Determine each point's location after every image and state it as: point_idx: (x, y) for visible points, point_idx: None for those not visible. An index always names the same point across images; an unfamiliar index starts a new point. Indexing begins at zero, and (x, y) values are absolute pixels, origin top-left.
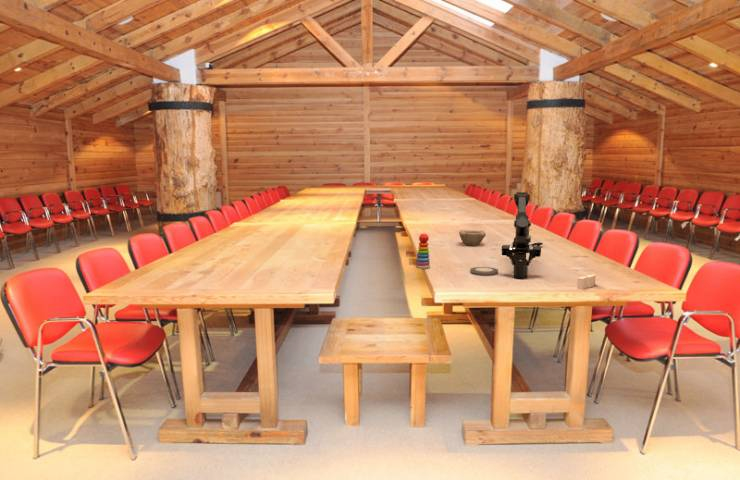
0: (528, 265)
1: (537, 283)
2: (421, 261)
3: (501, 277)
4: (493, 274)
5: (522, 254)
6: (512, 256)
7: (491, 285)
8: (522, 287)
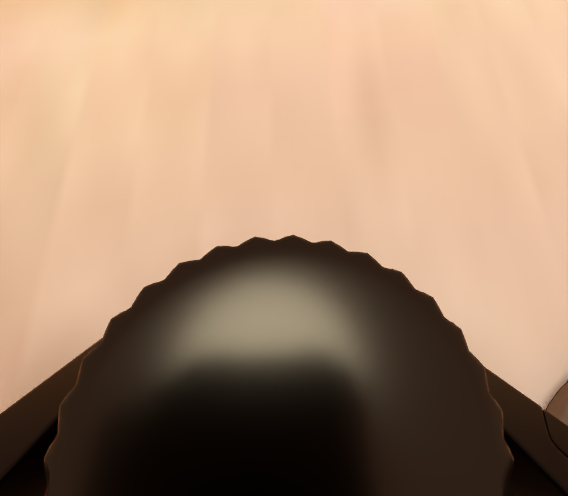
0: None
1: (121, 166)
2: None
3: None
4: (557, 404)
5: (222, 272)
6: (545, 444)
7: (465, 48)
8: (251, 35)
